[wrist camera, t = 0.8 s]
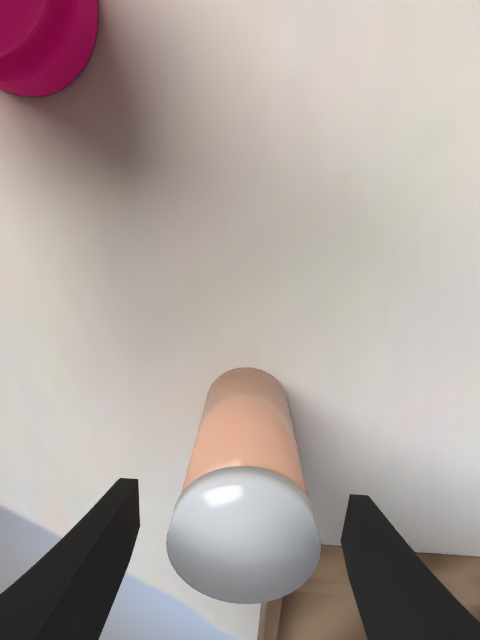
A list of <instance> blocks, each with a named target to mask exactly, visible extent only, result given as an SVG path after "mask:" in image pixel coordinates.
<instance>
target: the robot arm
mask: <svg viewBox="0 0 480 640" xmlns="http://www.w3.org/2000/svg"><path fill="white" fill-rule="evenodd" d="M139 527H140V515H139V490H138V479H127V478H120V479H119V480H117V481H116V482H115V484H114V485H113V486H112V487H111V488H110V489H109V490H108V491H107V492H106V494H105V495H104V496H103V497H102V498H101V499H100V500H99V501H98V502H97V503H96V504H95V505H94V507H93V508H92V509H91V510H90V511H89V512H88V513H87V514H86V515H85V516H84V517H83V518H82V519H81V520H80V521H79V522H78V523H77V524H76V525H75V526H74V527H73V528H72V529H71V530H70V531H69V532H68V533H67V534H66V535H65V536H64V537H63V538H62V539H61V540H60V541H59V542H58V543H57V544H56V545H55V546H54V547H53V548H52V549H51V550H50V551H49V552H48V553H46V554H45V555H44V557H42V558H41V559H40V560H39V561H38V562H37V563H36V564H35V565H34V566H33V567H31V568H30V569H29V570H28V571H27V572H26V573H25V574H24V575H22V576H21V577H20V578H19V579H18V580H17V581H16V582H14V583H13V584H12V585H11V586H10V587H9V588H7V589H6V590H5V591H4V592H2V593H1V594H0V640H98V639H99V637H100V635H101V632H102V629H103V627H104V624H105V622H106V619H107V617H108V615H109V612H110V610H111V607H112V604H113V602H114V599H115V597H116V595H117V592H118V589H119V587H120V584H121V582H122V579H123V577H124V574H125V572H126V569H127V567H128V564H129V562H130V558H131V555H132V552H133V548H134V545H135V542H136V538H137V535H138V531H139ZM341 544H342V549H343V554H344V559H345V564H346V569H347V573H348V578H349V581H350V584H351V588H352V591H353V594H354V597H355V601H356V604H357V607H358V610H359V614H360V617H361V620H362V623H363V626H364V630H365V633H366V636H367V639H368V640H480V622H479V621H478V620H477V619H476V618H475V617H474V616H473V615H472V614H471V613H470V612H469V611H468V610H467V609H466V608H465V607H464V606H463V605H462V604H461V603H460V602H459V601H458V600H457V599H456V598H455V597H454V596H453V595H452V594H451V592H450V591H449V590H448V589H447V588H446V587H445V586H444V585H443V584H442V583H441V582H440V581H439V580H438V578H437V577H436V576H435V575H434V574H433V573H432V572H431V571H430V569H429V568H428V567H427V566H426V565H425V564H424V563H423V561H422V560H421V559H420V558H419V557H418V556H417V554H416V553H415V552H414V551H413V550H412V549H411V547H410V546H409V545H408V544H407V543H406V542H405V540H404V539H403V538H402V537H401V535H400V534H399V533H398V532H397V531H396V529H395V528H394V527H393V526H392V524H391V523H390V522H389V521H388V520H387V518H386V517H385V516H384V515H383V513H382V512H381V511H380V510H379V508H378V507H377V506H376V505H375V503H374V502H373V501H372V500H371V498H370V497H369V496H367V495H353V494H350V497H349V502H348V507H347V512H346V517H345V522H344V527H343V532H342V537H341Z"/></svg>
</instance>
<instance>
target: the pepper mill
mask: <svg viewBox="0 0 480 640" xmlns="http://www.w3.org/2000/svg"><path fill="white" fill-rule="evenodd" d="M97 25H98V6H97V0H0V89H1V90H4V91H6V92H9V93H12V94H16V95H21V96H28V97H39V96H45V95H49V94H52V93H54V92H56V91H59V90H61V89H63V88H64V87H66V86H68V85H69V84H71V83H72V81H73V80H74V79H75V78H76V77H77V76H78V74H79V73H80V72H81V71H82V70H83V69H84V67H85V65H86V63H87V61H88V59H89V57H90V54H91V52H92V50H93V48H94V43H95V38H96V32H97Z"/></svg>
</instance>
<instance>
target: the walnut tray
mask: <svg viewBox="0 0 480 640" xmlns="http://www.w3.org/2000/svg"><path fill="white" fill-rule="evenodd" d="M415 553H416V554H417V556H418V557H419V558H420V559H421V560H422V561H423V563H424V564H425V565H426V566H427V567H428V568H429V569H430V571H431V572H432V573H433V574H434V575H435V576H436V577H437V578H438V580H439V581H440V582H441V583H442V584H443V585H444V586H445V587H446V588H447V589H448V590H449V591H450V592H451V594H452V595H453V596H454V597H455V598H456V599H457V600H458V601H459V602H460V603H461V604H462V605H463V606H464V607H465V608H466V609H467V610H468V611H469V612H470V613H471V614H472V615H473V616H474V617H475V618H476V619H477V620H478V621H479V622H480V557H468V556H455V555H442V554H429V553H417V552H415ZM257 640H368V639H367V636H366V633H365V630H364V626H363V623H362V620H361V617H360V614H359V610H358V607H357V604H356V601H355V597H354V594H353V591H352V588H351V584H350V581H349V578H348V573H347V569H346V564H345V559H344V554H343V549H342V547H339V546H326V545H321V551H320V558H319V561H318V564H317V566H316V569H315V570H314V572H313V573H312V575H311V576H310V578H309V579H308V580H307V581H306V582H305V583H304V584H303V585H302V586H300V587H299V588H298V589H296V590H295V591H293V592H292V593H290V594H288V595H286V596H284V597H281V598H278V599H276V600H272V601H268V602H262V603H261V612H260V621H259V630H258V638H257Z"/></svg>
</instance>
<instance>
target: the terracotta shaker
mask: <svg viewBox="0 0 480 640" xmlns="http://www.w3.org/2000/svg"><path fill="white" fill-rule="evenodd" d="M166 545H167V553H168V557H169V560H170V562H171V564H172V566H173V568H174V569H175V571H176V572H177V574H178V575H179V576H180V577H181V578H182V579H183V580H184V581H185V582H186V583H187V584H188V585H190V586H191V587H192V588H194V589H195V590H197V591H199V592H201V593H202V594H204V595H207V596H209V597H211V598H214V599H217V600H221V601H225V602H230V603H238V604H254V603H262V602H268V601H272V600H276V599H278V598H281V597H284V596H286V595H288V594H290V593H292V592H293V591H295V590H296V589H298V588H299V587H300V586H302V585H303V584H304V583H305V582H306V581H307V580H308V579H309V578H310V576H311V575H312V573H313V572H314V570H315V569H316V566H317V564H318V561H319V558H320V551H321V545H320V537H319V533H318V528H317V524H316V519H315V515H314V511H313V508H312V506H311V503H310V501H309V500H308V497H307V492H306V487H305V483H304V478H303V473H302V468H301V464H300V459H299V454H298V449H297V445H296V440H295V435H294V430H293V426H292V421H291V416H290V412H289V407H288V402H287V397H286V394H285V391H284V389H283V387H282V386H281V384H280V383H279V382H278V381H277V380H276V379H275V378H274V377H273V376H271V375H270V374H268V373H266V372H264V371H262V370H259V369H255V368H237V369H233V370H230V371H228V372H226V373H224V374H222V375H221V376H220V377H218V378H217V379H216V380H215V381H214V383H213V384H212V385H211V387H210V389H209V391H208V394H207V398H206V401H205V405H204V409H203V413H202V417H201V421H200V424H199V428H198V432H197V436H196V440H195V443H194V447H193V451H192V455H191V459H190V463H189V466H188V470H187V474H186V478H185V482H184V486H183V489H182V493H181V495H180V496H179V498H178V500H177V502H176V504H175V507H174V511H173V515H172V518H171V522H170V526H169V530H168V533H167V541H166Z"/></svg>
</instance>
